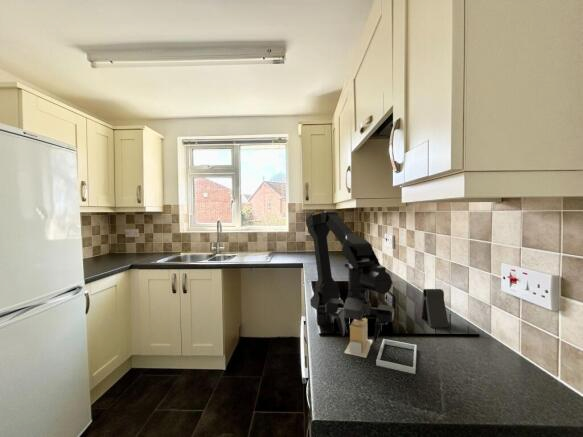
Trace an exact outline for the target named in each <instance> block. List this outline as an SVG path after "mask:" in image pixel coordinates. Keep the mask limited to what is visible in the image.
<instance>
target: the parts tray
mask: <svg viewBox="0 0 583 437" xmlns="http://www.w3.org/2000/svg"><path fill="white" fill-rule="evenodd" d="M385 345H387V346H392V347H396V348H397V347H398V348H403V349H407V350H408V349H409V350H413V362H412V364H413V365H412V366H408V365H404V364H399V363H397V362H396V363H395V362H391V361H386V360H381V357H382V354H383V350H384V348H385ZM377 353H378V355H377V357H376V360H375V361H376V362H375V364H376V366H377V367H381V368H386V369H391V370H396V371H400V372H405V373H408V374H414V375H415V374H416V370H417V368H416V367H417V366H416V365H417V344H414V343H413V344H412V343H407V342H401V341H398V340H397V341H396V340H391V339H385V338H383V339H382V342H381V344H380V347H379V350H378V352H377Z"/></svg>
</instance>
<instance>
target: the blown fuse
mask: <svg viewBox="0 0 583 437" xmlns="http://www.w3.org/2000/svg"><path fill="white" fill-rule="evenodd" d="M350 341H355V342H360V343H362V353H363V352H364V349H365V347H366V345H367V342H368V318H366V317H365V318H364V317H363V318H362V320H356V319H353V320H352V322H351V323H350V325H349V342H350Z"/></svg>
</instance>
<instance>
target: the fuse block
mask: <svg viewBox="0 0 583 437" xmlns="http://www.w3.org/2000/svg"><path fill="white" fill-rule="evenodd" d="M373 341H374V339H368V342H367V345H366V347H365V349H364V352H363V353H362V343H360V342H355V341H350V340H349V343H348V345H347V347H346V349H345V350H344V351H343V353H344V354H348V355H352V356H357V357H361V358H365V359H366V358H367V356H368V354H369V351H370V349H371V346H372V344H373Z"/></svg>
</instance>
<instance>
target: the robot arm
mask: <svg viewBox="0 0 583 437" xmlns="http://www.w3.org/2000/svg"><path fill="white" fill-rule="evenodd" d="M305 226H306V227H307V232H308V235H310V236H311V238H312V240H313V247H314V255H315V264H316V272H317V273H316V274H317V280H316V283H315V285H314V294H312V297H311V298H310V306H311V307H312V308H313V309H315V310H316V312H315V313H316V314H315V315H316V324H317V326H320V327H321V326H323V327H325V326H329V325H331V324H333V319H335V320H336V322H337V325H338V329H339V330H340V333H341V336H342V337H344V336H345V333H346V332H345V330H346V329H345V328H346V326H345V322H346V321H345V319H353V320H354V319H356V320H362V318H364V316H371V315H374V316H376V320H375V326H374V327H375V329H374V335H373V336H374V337H373V341H374V343H377V339H378V336H379V334H380V331H381V329H382V326H383V325H388V323H392V322H393V320H394V318H395V308H394V307H393V305H386V304H378V306H377V307H372V304H371V302H370V291H371V292H374V293H377V294H379V295H385V294H387V293H389V291H390V290H391V289H392V287H393V286H392V285H393V279H392V278H391V275H390V273H388V272H386V269H387V268H386V267H385V266H381V264H380V260H379V259H378V257H377V255H376V253H375V250H374V249H373V245H372V244H371V242H370V241H368V240H367V239H365V238H364V237H361V236H359V235H357V234H355V233H354V232H353V230H351V229H350V227H349V226H348V225H347V224H346V223H345V221H344V220H342V218H341V217H340V216H339V213H338V212H337V211H333V210H332V211H330V210H329V211H328V210H327V211H322V212H321V213H316V214H313V213H312V214H309V215H308V216H307V217H306V219H305ZM330 231H331V233H332V234H333V235H334V236H335V238H336V239H337V240H338V241H339V242H340V244H341V252H342V254H343V255H344V257H345V259H346V260H347V262H346V263H345V264H344V268H347V269H348V271H347V272H348V289H347V296H346V299H345V302H344V301H343V299H341V291H340V284H339V282H336V281H335V280H334V279H333V275H332V267H331V260H330V252H329V245H328V244H329V243H328V235H329V233H330Z"/></svg>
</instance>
